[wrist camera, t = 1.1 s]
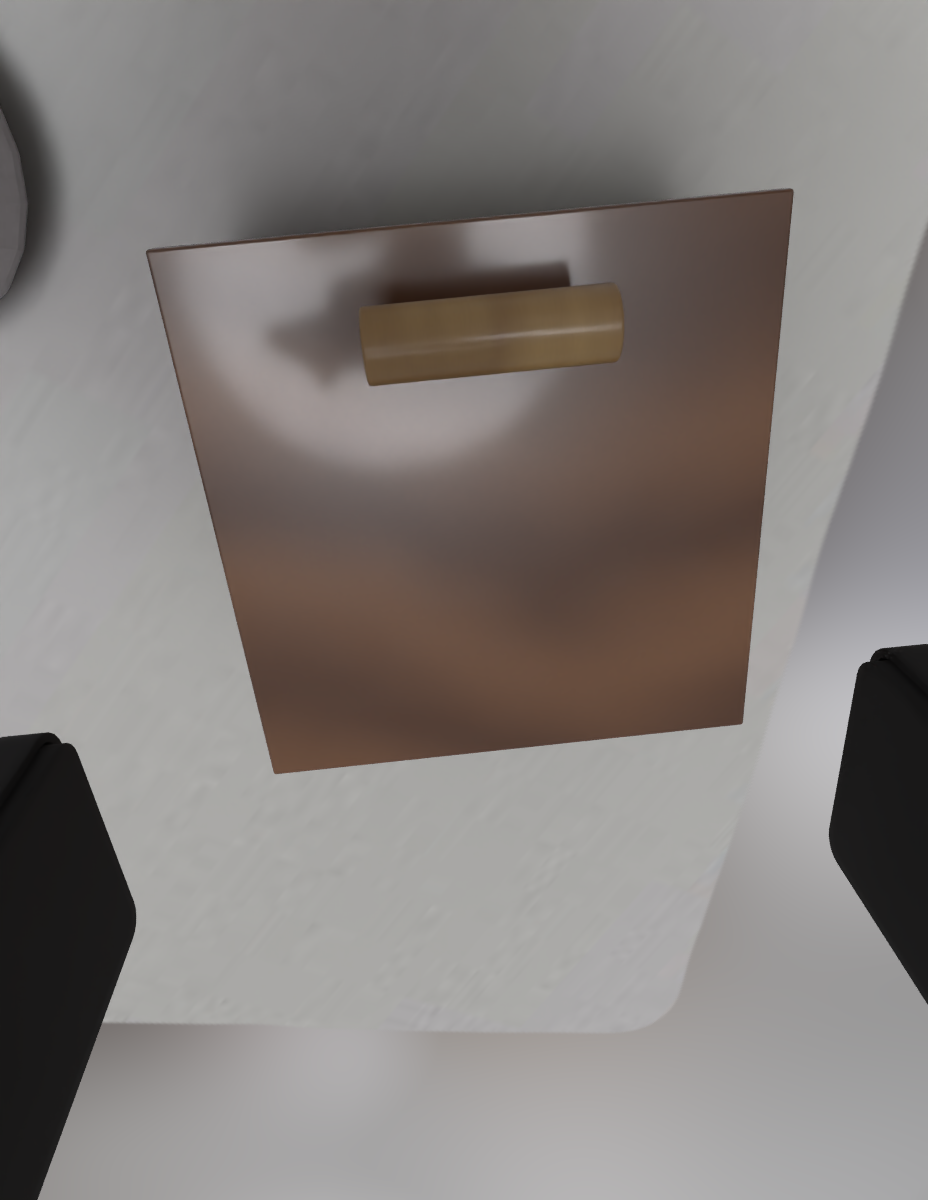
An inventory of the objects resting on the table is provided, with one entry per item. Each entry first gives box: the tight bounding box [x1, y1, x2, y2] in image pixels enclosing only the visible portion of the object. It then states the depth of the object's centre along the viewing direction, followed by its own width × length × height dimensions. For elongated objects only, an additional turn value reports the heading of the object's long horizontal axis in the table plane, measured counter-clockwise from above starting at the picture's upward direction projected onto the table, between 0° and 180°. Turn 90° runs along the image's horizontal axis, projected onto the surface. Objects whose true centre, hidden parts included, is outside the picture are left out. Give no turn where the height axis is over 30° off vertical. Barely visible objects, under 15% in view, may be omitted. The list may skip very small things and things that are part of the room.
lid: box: [146, 188, 794, 774], centre depth 23 cm, size 17×17×5 cm
